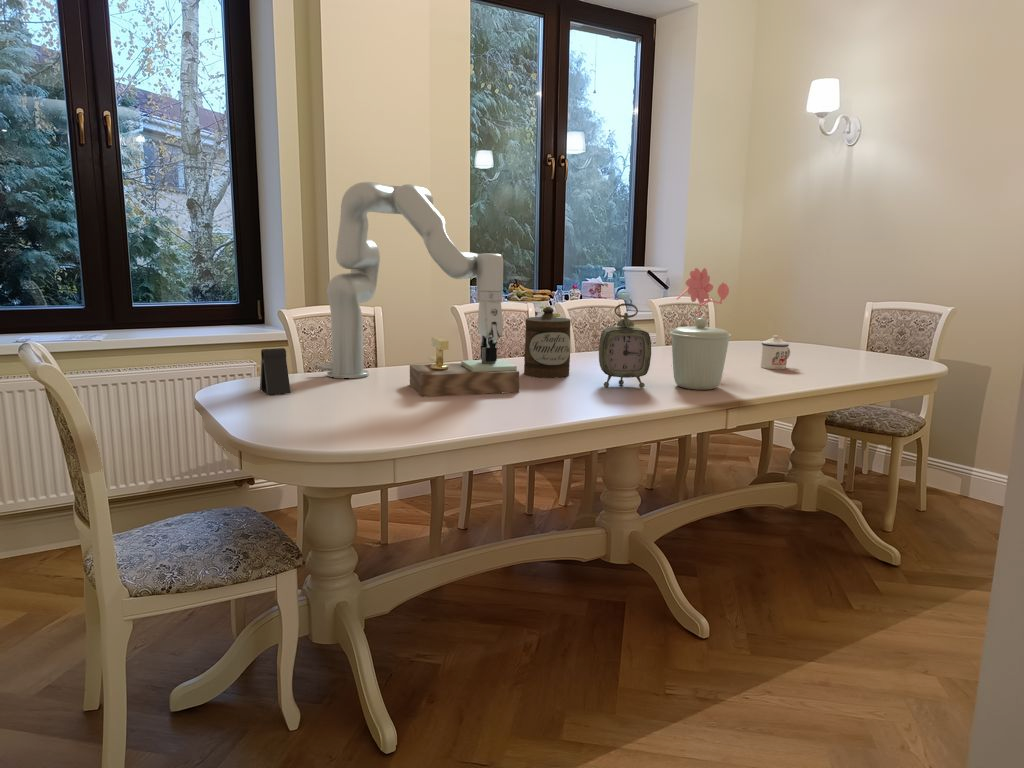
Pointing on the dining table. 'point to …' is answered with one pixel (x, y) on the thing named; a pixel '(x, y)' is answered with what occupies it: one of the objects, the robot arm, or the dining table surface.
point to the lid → (488, 364)
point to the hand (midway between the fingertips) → (488, 359)
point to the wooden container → (547, 345)
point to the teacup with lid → (774, 353)
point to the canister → (699, 355)
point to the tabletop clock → (625, 350)
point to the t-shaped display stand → (439, 353)
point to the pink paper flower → (703, 288)
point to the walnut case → (461, 380)
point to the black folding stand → (274, 372)
